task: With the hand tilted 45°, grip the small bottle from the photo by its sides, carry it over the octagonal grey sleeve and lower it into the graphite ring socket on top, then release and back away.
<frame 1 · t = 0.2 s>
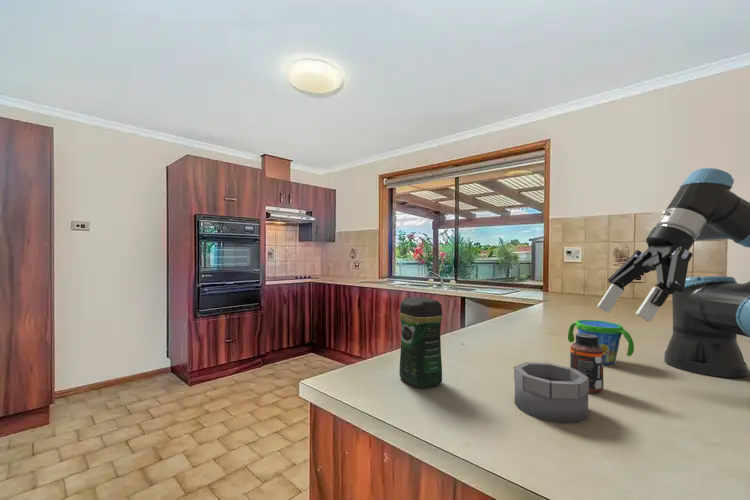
hand: (620, 313, 74), 16 cm above the counter, tool tilted 35°, fingers open, 13 cm apart
octagonal grey sleeve: (549, 407, 62), on the counter
coffee jar: (420, 382, 74), on the counter
supplement bottle: (586, 389, 71), on the counter
snack cup: (598, 361, 90), on the counter
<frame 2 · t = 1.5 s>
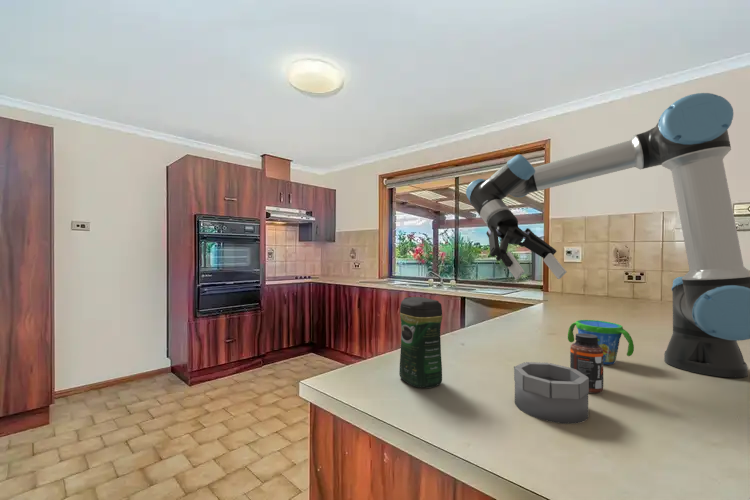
hand: (542, 275, 81), 23 cm above the counter, tool tilted 45°, fingers open, 13 cm apart
nothing on the counter moved.
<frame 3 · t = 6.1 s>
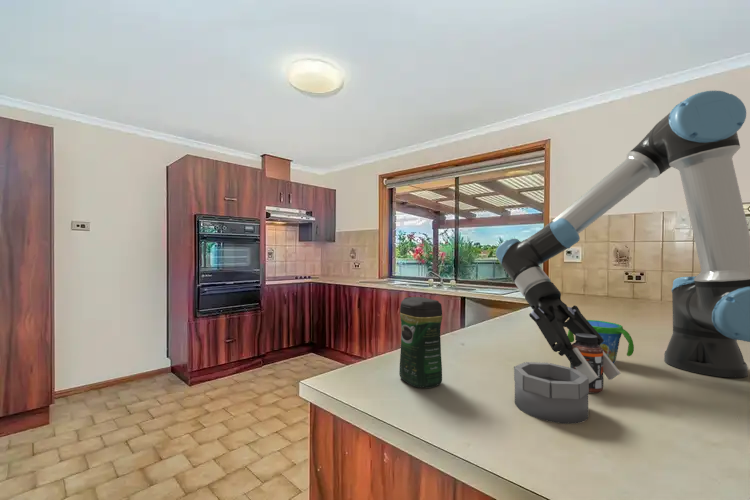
hand: (603, 378, 68), 3 cm above the counter, tool tilted 45°, fingers closed on supplement bottle, 6 cm apart
supplement bottle: (586, 389, 71), on the counter, touching gripper
everything else where it was.
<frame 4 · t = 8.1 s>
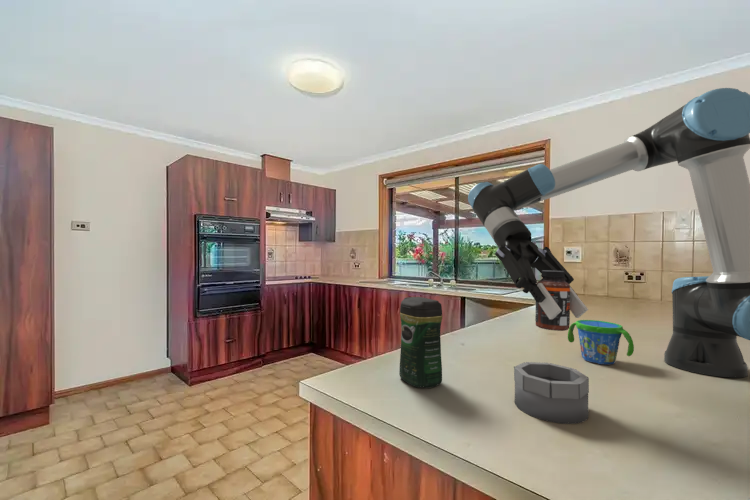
hand: (569, 314, 62), 17 cm above the counter, tool tilted 45°, fingers closed on supplement bottle, 6 cm apart
supplement bottle: (552, 329, 65), point 14 cm above the counter, touching gripper
everything else where it was.
when the fingers open (9 cm above the counter, at t = 10.5 s): supplement bottle drops 1 cm, resting on octagonal grey sleeve.
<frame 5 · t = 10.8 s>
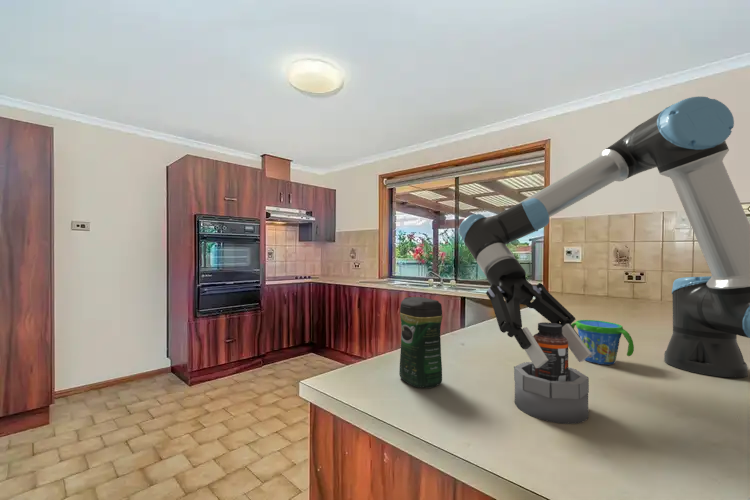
hand: (564, 361, 59), 9 cm above the counter, tool tilted 45°, fingers open, 10 cm apart
supplement bottle: (550, 386, 62), point 4 cm above the counter, touching octagonal grey sleeve
everything else where it was.
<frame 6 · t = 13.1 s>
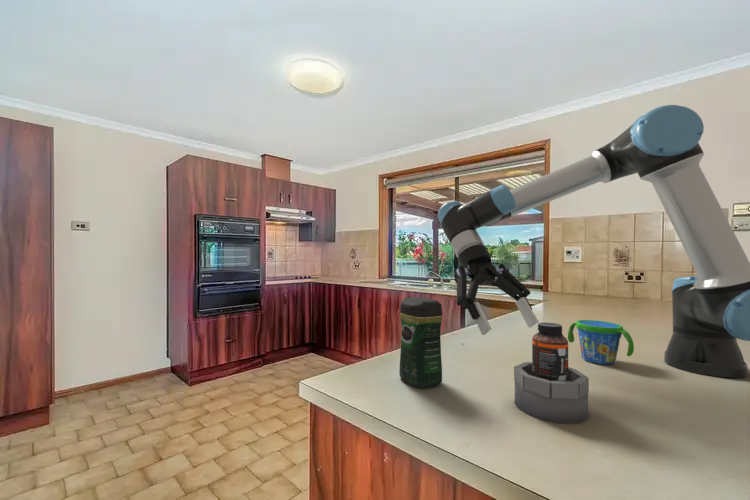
hand: (511, 328, 74), 12 cm above the counter, tool tilted 35°, fingers open, 13 cm apart
nothing on the counter moved.
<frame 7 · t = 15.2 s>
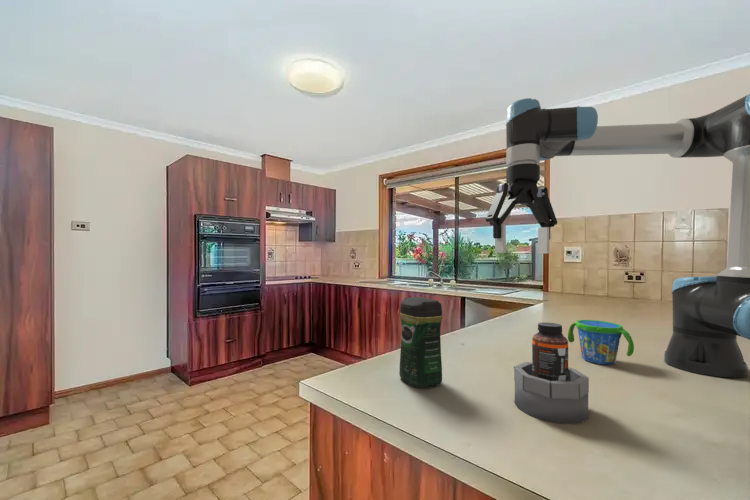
hand: (522, 253, 81), 29 cm above the counter, tool pointing down, fingers open, 13 cm apart
nothing on the counter moved.
at the end: supplement bottle 0.2 cm off-centre on the octagonal grey sleeve, point 3.8 cm above the octagonal grey sleeve's base; supplement bottle tilted 0°; the gripper is holding nothing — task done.
